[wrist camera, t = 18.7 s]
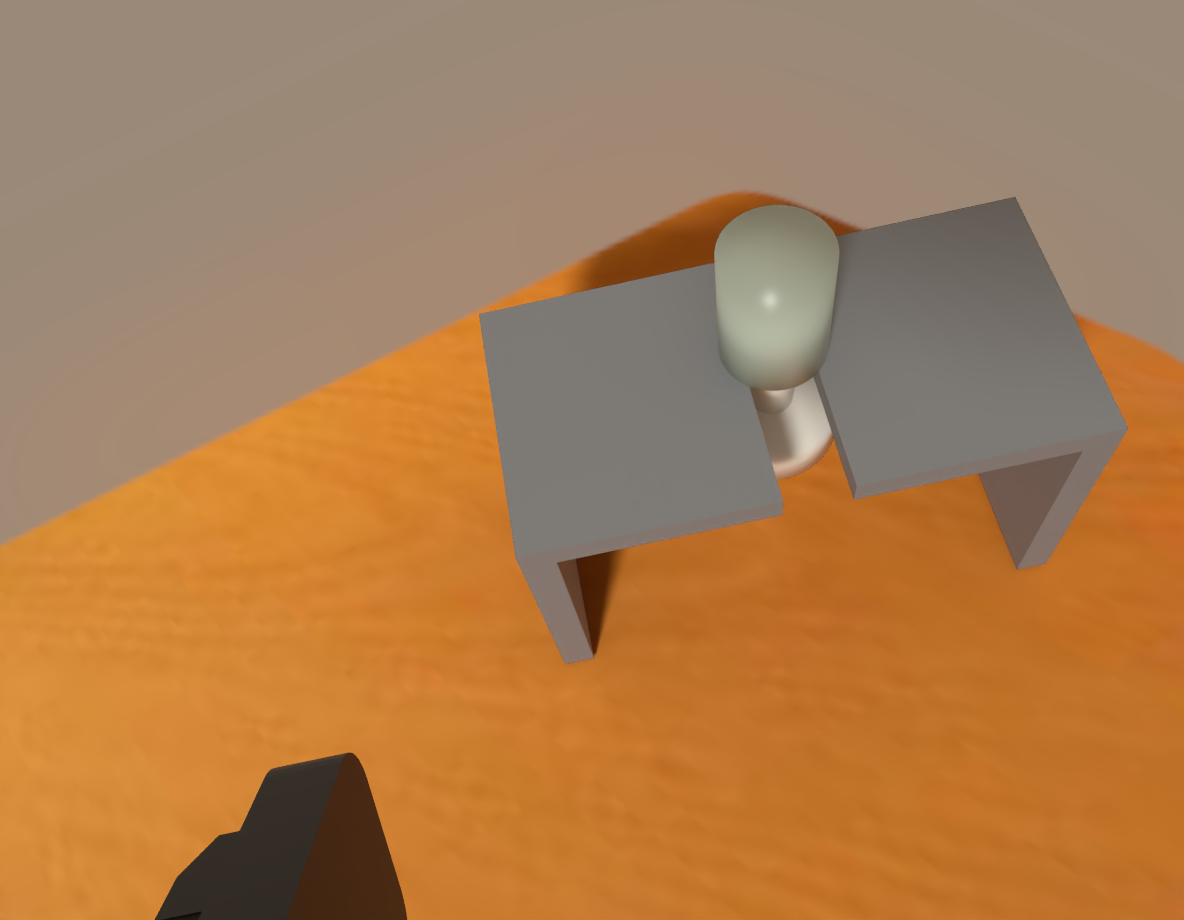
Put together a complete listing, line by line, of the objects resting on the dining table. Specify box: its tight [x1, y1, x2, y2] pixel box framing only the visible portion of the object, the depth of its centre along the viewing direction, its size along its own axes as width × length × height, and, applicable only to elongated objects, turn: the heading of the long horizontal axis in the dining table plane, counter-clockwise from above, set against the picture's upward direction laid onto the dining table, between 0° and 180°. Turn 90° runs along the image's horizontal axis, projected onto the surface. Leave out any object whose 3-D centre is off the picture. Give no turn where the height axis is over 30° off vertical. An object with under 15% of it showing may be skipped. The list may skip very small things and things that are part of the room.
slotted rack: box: [479, 197, 1128, 664], centre depth 42 cm, size 20×10×11 cm, turn 100°
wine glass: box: [714, 205, 839, 479], centre depth 38 cm, size 5×5×10 cm
